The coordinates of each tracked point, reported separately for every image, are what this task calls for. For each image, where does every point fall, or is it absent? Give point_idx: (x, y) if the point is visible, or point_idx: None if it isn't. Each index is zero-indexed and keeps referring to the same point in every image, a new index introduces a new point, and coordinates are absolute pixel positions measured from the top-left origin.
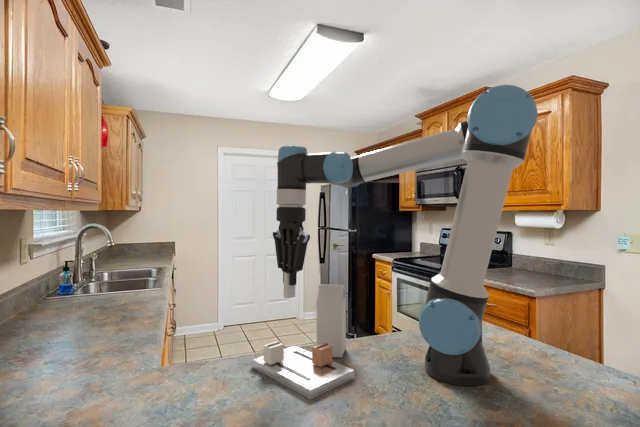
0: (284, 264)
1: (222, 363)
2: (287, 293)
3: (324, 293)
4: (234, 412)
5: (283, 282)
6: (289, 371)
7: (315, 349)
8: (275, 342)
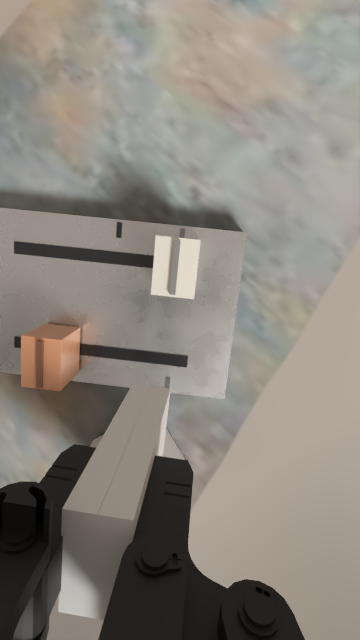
0: (104, 636)
1: (345, 187)
2: (124, 401)
3: (99, 620)
4: (69, 24)
5: (186, 466)
6: (93, 247)
7: (47, 337)
8: (187, 288)
